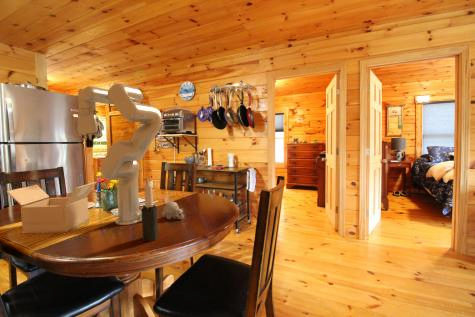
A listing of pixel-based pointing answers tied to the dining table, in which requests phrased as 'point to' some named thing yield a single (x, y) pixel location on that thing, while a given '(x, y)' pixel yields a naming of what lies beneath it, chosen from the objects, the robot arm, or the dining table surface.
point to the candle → (149, 215)
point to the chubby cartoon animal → (172, 211)
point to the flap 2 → (80, 192)
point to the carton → (54, 215)
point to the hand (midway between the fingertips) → (89, 147)
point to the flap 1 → (28, 194)
